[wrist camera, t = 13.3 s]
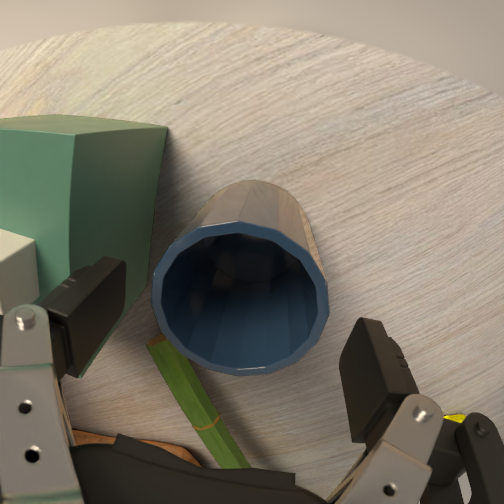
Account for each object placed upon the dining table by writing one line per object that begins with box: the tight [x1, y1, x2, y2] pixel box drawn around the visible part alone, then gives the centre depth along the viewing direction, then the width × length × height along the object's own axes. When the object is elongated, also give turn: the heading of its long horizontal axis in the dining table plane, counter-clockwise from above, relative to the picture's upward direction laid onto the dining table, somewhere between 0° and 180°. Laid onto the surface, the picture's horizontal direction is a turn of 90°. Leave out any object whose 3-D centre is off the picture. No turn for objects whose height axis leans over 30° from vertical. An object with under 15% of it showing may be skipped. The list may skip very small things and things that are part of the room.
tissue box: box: [0, 114, 168, 378], centre depth 13 cm, size 10×8×11 cm
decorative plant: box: [146, 333, 252, 469], centre depth 24 cm, size 6×8×30 cm
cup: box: [151, 180, 329, 376], centre depth 15 cm, size 6×6×8 cm
